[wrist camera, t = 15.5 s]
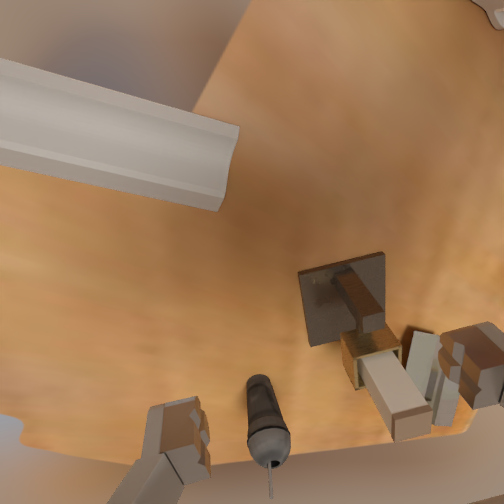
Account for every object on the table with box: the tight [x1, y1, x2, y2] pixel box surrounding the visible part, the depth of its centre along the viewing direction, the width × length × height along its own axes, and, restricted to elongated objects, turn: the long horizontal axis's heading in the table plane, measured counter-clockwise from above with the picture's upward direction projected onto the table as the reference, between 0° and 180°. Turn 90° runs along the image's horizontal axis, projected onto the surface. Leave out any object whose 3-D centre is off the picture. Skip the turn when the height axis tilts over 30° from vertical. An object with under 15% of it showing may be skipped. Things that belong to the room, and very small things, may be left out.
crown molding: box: [0, 58, 240, 212], centre depth 40 cm, size 31×12×4 cm, turn 74°
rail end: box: [357, 351, 433, 443], centre depth 46 cm, size 5×5×13 cm
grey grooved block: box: [405, 331, 460, 427], centre depth 67 cm, size 19×10×17 cm
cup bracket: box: [298, 251, 402, 391], centre depth 53 cm, size 14×16×13 cm
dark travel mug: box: [247, 374, 291, 499], centre depth 57 cm, size 7×7×20 cm
